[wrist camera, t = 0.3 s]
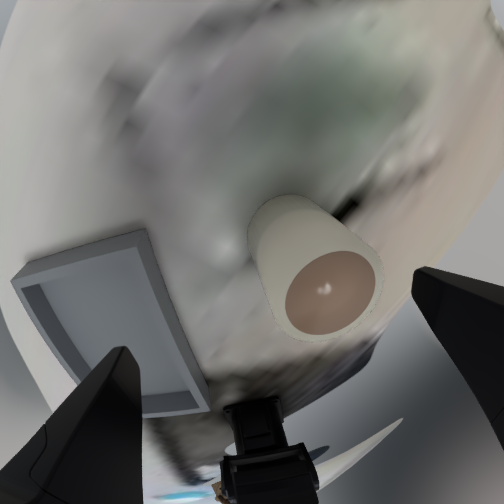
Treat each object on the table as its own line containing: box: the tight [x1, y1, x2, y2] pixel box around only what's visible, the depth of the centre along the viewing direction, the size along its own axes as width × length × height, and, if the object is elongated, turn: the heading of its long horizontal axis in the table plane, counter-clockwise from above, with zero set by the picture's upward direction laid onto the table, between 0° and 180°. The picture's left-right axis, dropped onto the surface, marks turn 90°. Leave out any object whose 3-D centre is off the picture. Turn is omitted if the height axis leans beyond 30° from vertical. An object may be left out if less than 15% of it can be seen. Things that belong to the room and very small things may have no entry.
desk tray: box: [11, 229, 210, 418], centre depth 20 cm, size 18×12×3 cm, turn 10°
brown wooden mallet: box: [211, 481, 230, 504], centre depth 38 cm, size 7×13×10 cm
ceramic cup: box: [247, 195, 384, 342], centre depth 17 cm, size 6×6×8 cm
